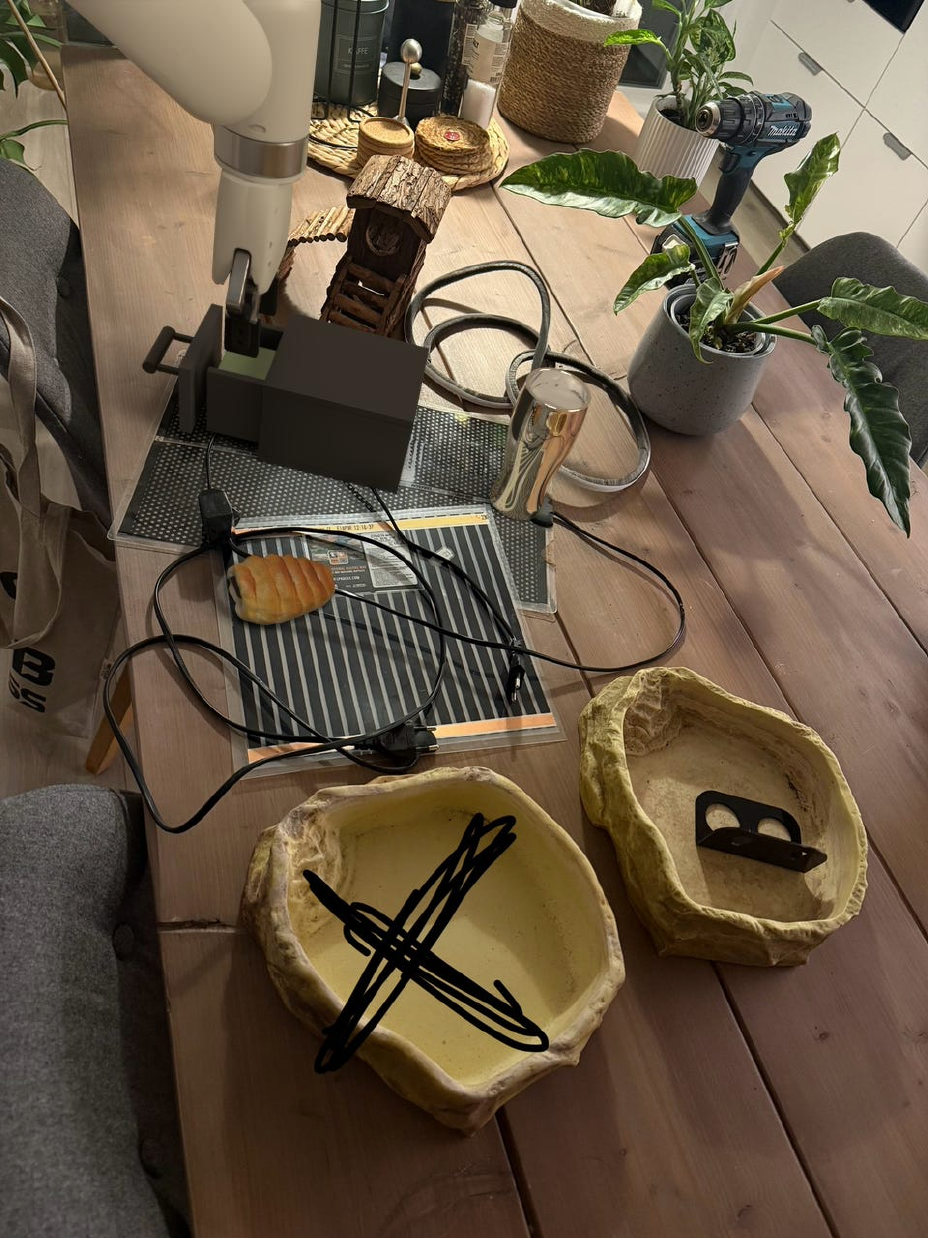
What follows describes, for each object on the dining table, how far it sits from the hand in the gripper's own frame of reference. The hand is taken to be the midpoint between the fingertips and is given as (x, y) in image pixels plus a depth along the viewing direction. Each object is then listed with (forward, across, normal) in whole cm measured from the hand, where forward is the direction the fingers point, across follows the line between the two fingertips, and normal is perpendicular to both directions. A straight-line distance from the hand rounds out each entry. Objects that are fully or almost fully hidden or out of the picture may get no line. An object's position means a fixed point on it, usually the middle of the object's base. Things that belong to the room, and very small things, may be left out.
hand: (251, 330), depth 86 cm
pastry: (+11, +23, +8) cm, 27 cm away
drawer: (+10, 0, -1) cm, 10 cm away
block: (+8, 0, 0) cm, 8 cm away
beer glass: (+11, +3, +30) cm, 32 cm away
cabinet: (+11, 0, +10) cm, 15 cm away
